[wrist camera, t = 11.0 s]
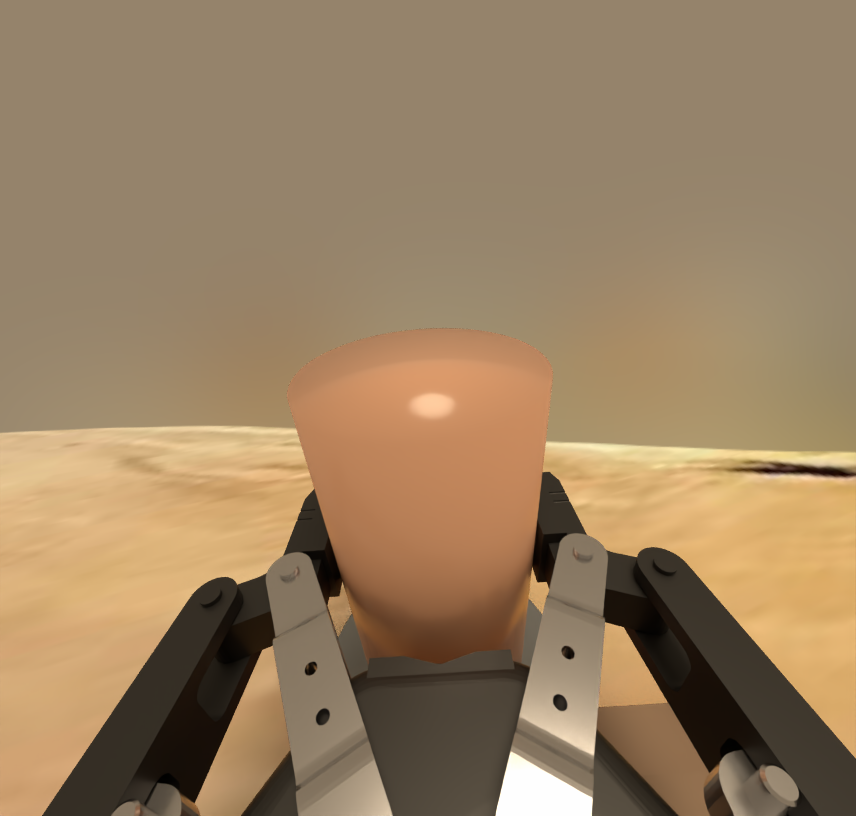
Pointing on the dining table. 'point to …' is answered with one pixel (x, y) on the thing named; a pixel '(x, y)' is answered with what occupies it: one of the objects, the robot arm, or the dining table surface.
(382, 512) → the peach orange tall mug
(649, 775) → the holder
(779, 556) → the dining table surface
